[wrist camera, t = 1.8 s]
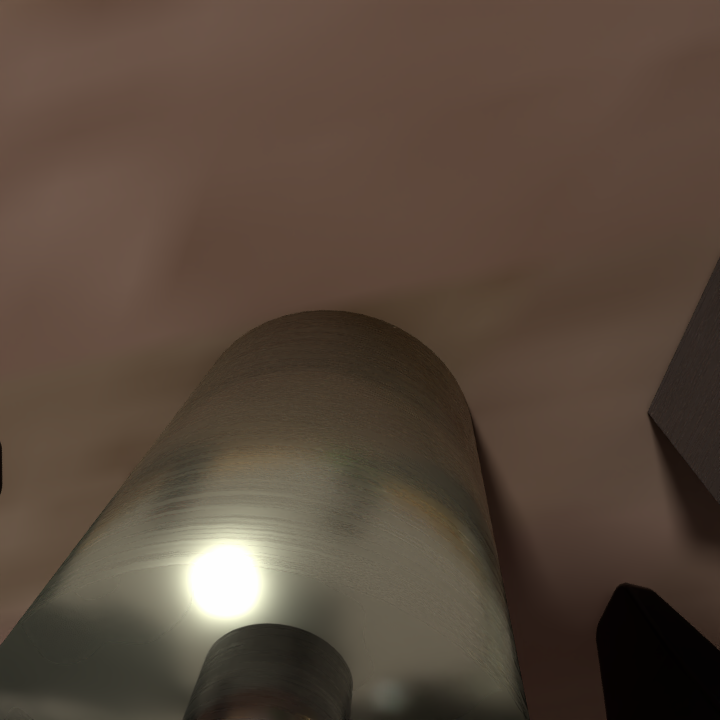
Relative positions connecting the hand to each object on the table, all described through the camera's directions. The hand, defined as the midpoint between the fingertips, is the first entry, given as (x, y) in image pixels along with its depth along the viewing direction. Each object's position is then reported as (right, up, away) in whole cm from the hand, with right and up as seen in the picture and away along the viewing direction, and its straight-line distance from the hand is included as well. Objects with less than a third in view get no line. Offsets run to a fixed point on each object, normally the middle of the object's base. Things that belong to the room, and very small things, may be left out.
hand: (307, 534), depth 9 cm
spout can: (0, +1, +2) cm, 3 cm away
